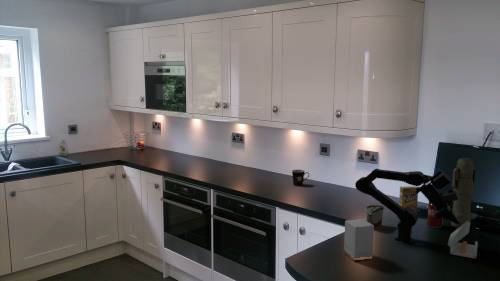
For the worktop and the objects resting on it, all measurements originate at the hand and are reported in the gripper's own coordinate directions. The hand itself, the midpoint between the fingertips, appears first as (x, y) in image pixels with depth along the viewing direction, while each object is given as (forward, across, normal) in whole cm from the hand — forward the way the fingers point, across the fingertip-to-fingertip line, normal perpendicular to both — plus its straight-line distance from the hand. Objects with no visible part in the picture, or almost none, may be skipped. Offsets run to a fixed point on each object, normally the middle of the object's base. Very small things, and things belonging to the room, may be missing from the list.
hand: (458, 223), depth 188 cm
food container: (-20, +11, +37) cm, 43 cm away
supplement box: (-16, -29, +34) cm, 48 cm away
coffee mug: (-65, +68, +82) cm, 125 cm away
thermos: (+8, +35, +9) cm, 37 cm away
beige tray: (+11, 0, +6) cm, 12 cm away
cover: (+4, 0, +3) cm, 5 cm away
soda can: (0, +27, +17) cm, 32 cm away
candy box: (-11, +40, +28) cm, 50 cm away
